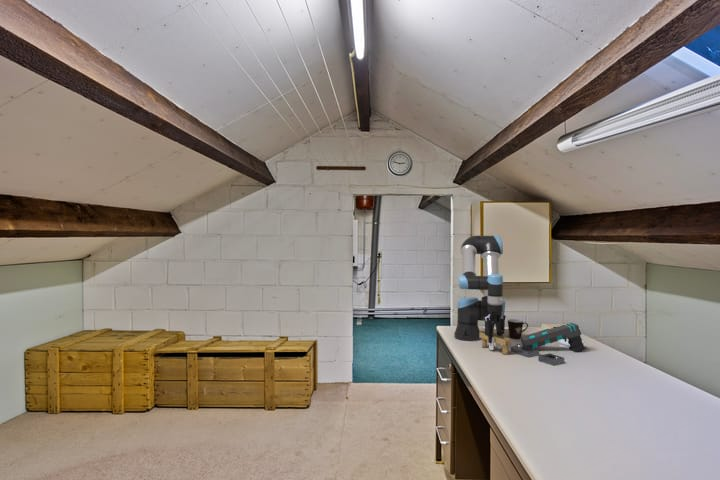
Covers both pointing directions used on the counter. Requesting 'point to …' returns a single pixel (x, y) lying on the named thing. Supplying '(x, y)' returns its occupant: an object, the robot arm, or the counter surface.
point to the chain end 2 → (551, 359)
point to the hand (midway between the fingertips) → (494, 348)
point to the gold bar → (496, 341)
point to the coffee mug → (515, 328)
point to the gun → (555, 337)
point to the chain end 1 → (524, 350)
